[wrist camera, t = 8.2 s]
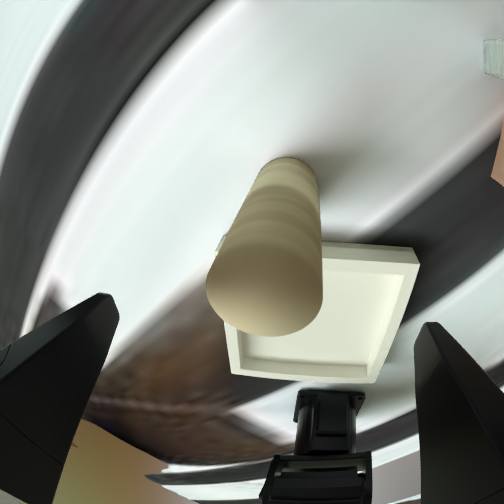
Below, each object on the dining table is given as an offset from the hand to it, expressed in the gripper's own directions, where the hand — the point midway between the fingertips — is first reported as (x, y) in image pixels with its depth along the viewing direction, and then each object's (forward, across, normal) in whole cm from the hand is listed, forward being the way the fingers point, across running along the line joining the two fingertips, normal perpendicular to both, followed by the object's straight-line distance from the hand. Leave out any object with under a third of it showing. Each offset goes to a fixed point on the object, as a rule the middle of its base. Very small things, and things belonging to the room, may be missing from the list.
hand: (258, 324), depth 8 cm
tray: (+10, -2, +9) cm, 14 cm away
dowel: (+10, 0, 0) cm, 10 cm away
